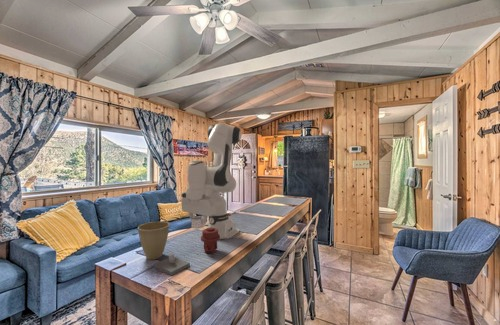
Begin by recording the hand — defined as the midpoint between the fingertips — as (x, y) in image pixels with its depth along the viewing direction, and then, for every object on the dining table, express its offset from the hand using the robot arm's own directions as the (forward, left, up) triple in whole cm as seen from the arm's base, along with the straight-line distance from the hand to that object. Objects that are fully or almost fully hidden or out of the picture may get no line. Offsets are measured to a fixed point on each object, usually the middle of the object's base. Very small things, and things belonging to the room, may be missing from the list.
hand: (198, 222), depth 108 cm
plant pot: (+9, -23, -19) cm, 31 cm away
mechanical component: (-11, -3, -19) cm, 22 cm away
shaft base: (+11, -6, -19) cm, 22 cm away
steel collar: (0, 0, -2) cm, 2 cm away
